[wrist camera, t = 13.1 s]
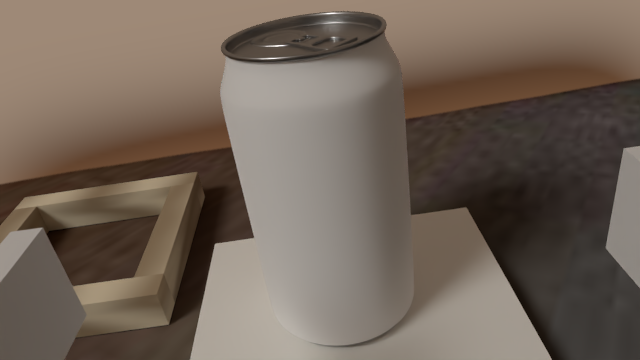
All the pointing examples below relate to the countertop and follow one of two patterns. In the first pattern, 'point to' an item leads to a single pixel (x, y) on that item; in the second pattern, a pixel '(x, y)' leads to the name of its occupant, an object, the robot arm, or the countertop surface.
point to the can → (324, 171)
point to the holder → (158, 259)
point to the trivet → (408, 334)
